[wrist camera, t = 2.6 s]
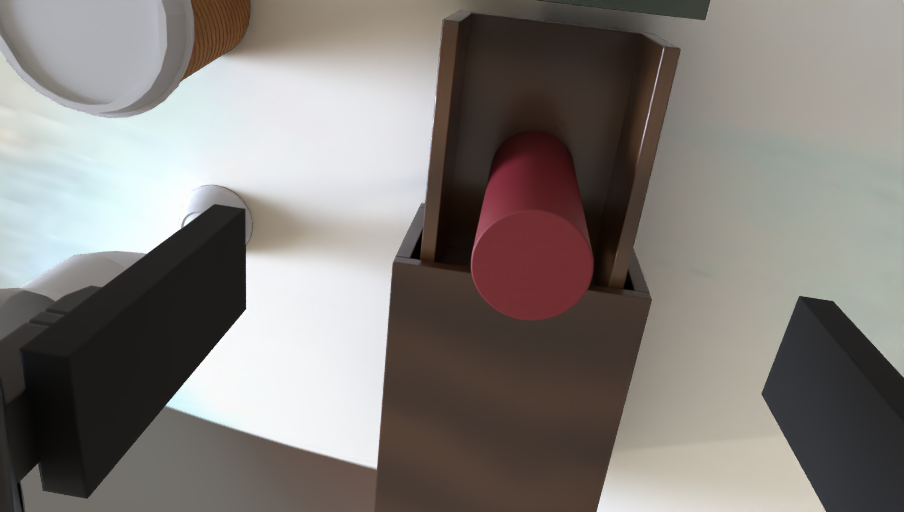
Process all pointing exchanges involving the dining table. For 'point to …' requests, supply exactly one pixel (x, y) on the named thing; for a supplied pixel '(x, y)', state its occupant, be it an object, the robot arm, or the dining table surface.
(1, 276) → the dining table surface
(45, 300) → the chalice
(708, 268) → the dining table surface
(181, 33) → the disposable coffee cup
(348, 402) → the dining table surface
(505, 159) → the candle
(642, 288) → the cabinet
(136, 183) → the dining table surface
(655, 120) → the drawer
